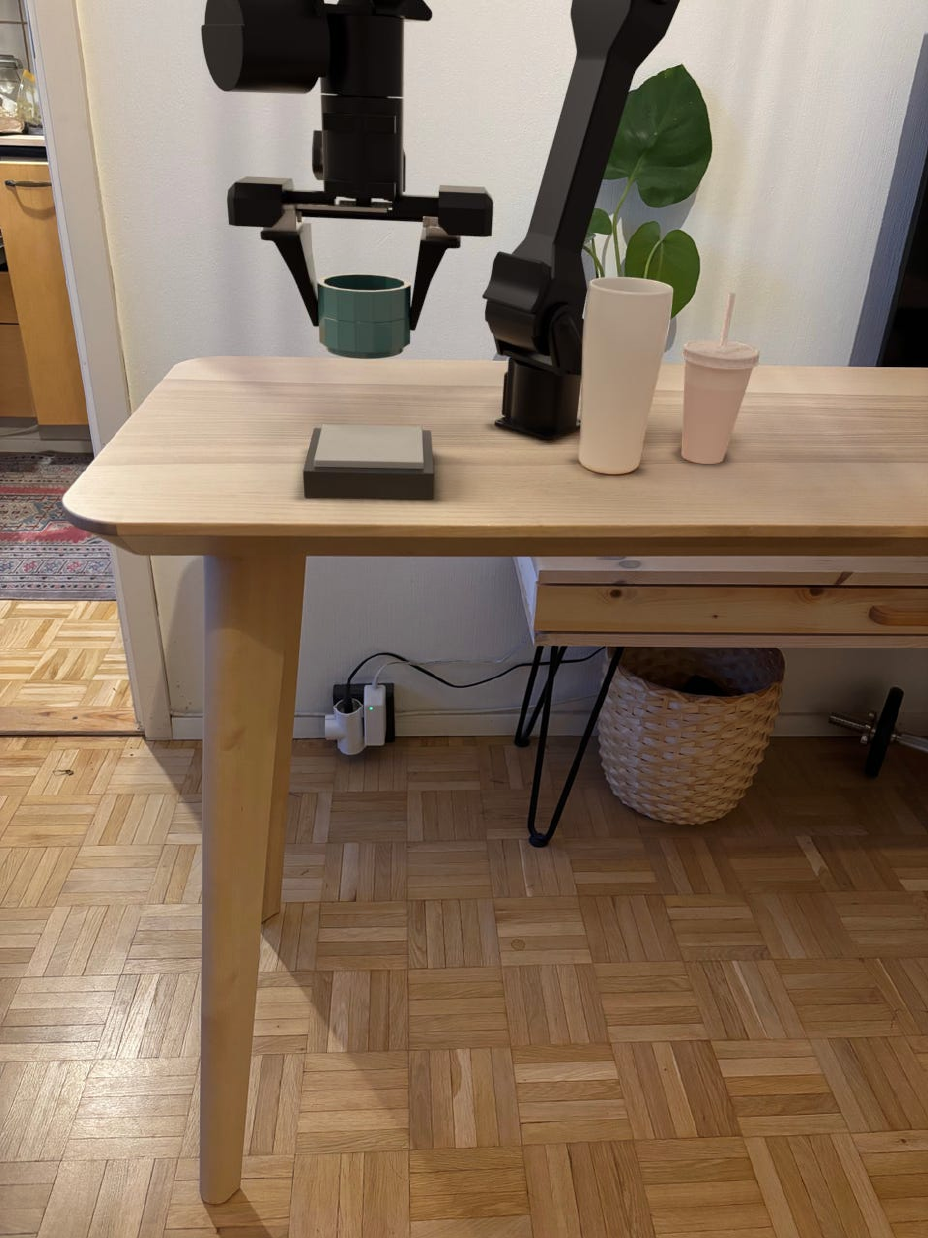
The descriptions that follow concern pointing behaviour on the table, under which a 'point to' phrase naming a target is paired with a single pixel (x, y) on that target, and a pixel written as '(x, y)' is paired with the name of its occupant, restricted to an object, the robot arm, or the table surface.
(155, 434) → the table surface
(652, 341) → the white tumbler
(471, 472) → the table surface
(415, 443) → the scale
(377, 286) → the bowl
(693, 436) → the smoothie
